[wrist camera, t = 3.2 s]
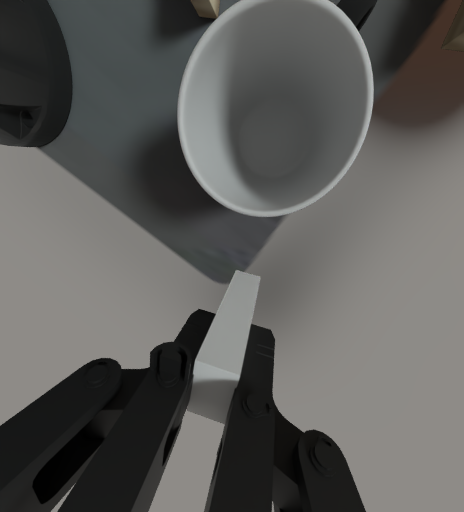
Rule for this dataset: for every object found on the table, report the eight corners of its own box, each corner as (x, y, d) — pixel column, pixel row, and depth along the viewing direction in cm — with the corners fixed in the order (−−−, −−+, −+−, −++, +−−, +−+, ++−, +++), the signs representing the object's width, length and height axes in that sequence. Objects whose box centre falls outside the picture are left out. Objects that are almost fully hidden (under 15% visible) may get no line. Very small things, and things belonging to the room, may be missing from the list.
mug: (278, 212, 21) (275, 250, 12) (206, 153, 21) (146, 147, 12) (386, 88, 16) (520, -6, 7) (295, 3, 15) (314, -225, 6)
